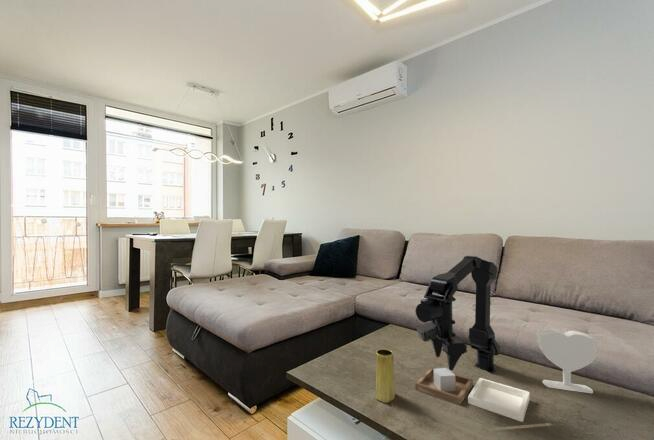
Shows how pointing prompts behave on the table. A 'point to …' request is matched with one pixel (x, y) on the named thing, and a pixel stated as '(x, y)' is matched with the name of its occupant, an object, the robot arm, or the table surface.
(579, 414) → the table surface
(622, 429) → the table surface
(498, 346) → the robot arm
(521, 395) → the cream tray
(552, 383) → the heart sculpture
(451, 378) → the stone block
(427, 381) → the walnut tray
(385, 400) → the vase
